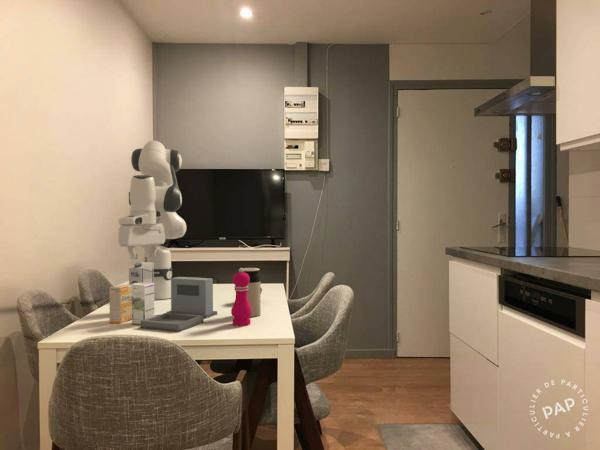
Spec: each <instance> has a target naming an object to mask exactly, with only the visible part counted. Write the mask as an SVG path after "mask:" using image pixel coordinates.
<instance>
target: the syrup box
mask: <svg viewBox="0 0 600 450" xmlns="http://www.w3.org/2000/svg"><path fill="white" fill-rule="evenodd" d="M155 313H156V312H155V300H154V283H146V282H139V283H135V284H132V319H131V321H132V325H138V326H141V320H144V319H148V318H151V317H154V316H156V315H155Z"/></svg>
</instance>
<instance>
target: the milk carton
mask: <svg viewBox="0 0 600 450" xmlns="http://www.w3.org/2000/svg"><path fill="white" fill-rule="evenodd" d="M139 282H146V283H154V263H152V262H147V261H140V262H136V263H134V264H133V265H132V266H129V267H128V284H129V285H132V284H135V283H139Z"/></svg>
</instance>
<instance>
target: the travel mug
mask: <svg viewBox="0 0 600 450" xmlns="http://www.w3.org/2000/svg"><path fill="white" fill-rule="evenodd" d="M242 268H243V267H242ZM243 269H244V271H243V272H244V273H247V274H248V275H249V277H250V282H249V283H248V285H247V286H248V290H247V298H248V301H249V304H250V306H251V309H252V313H251V315H250V316H249V318H254V317H258V316H261V315H262V314H261V312H262V311H261V309H262V308H261V294H260V287H261V276H260V274H259V273H260V268H258V267H244V268H243Z"/></svg>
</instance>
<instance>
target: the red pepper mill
mask: <svg viewBox="0 0 600 450" xmlns="http://www.w3.org/2000/svg"><path fill="white" fill-rule="evenodd" d="M243 271H244V269H243V267H240V268H239V269H238V272H236V273H235V274H234V275H233V277H232V282H233V284H234V286H233V288H234V289H233V290H234V291H235V300H234V302H233V304H232V306H231V312H230V313H231V316H232V317H233V318H232V325H233V326H235V327H246V326H249V325H250V324H251V317H249V316H250V315H251V313H252V309H251V306H250V304H249V301H248V298H247V290H248V286H247V285H248V283H249V282H250V277H249V275H248V274H247V273H244V272H243Z"/></svg>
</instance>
